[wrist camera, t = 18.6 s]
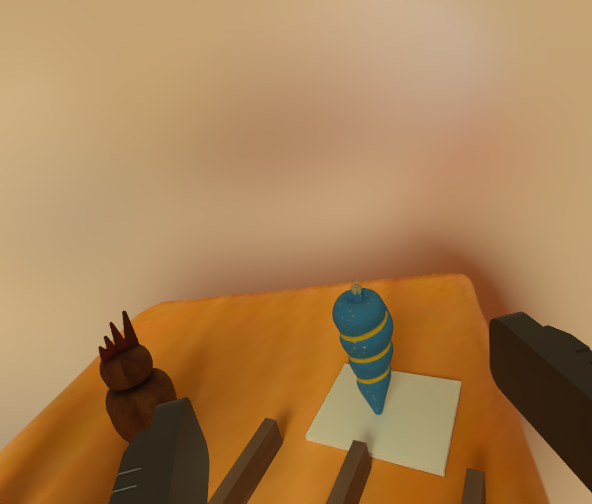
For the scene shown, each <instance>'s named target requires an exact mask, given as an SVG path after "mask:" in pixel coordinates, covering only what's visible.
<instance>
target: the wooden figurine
mask: <svg viewBox="0 0 592 504" xmlns="http://www.w3.org/2000/svg"><path fill="white" fill-rule="evenodd" d="M122 314H123V325H124V335H125V339H124V338H123V337H122V335H121V334H120V332H119V331H118V330H117V328H116V327H115V325H114V324H113V323H112V322H110V328H111V332H112V335H113V339H114V343H115V345H114V344H113V343H112V342H111V341H110V339H109V338H108V337H107V336H104V340H105V344H106V347H107V349H104V348H103V347H101V346H99V353H100V357H101V363H100V375H101V377H102V379H103V381H104V382H105V383H106V385H107V386H108V387H109V388H110V389H109V390H108V392H107V395H106V410H107V412H108V414H109V416H110V418H111V421H112V423H113V425H114V427H115V429H116V431H117V432H118V433H119V435H120V436H121V437H122V438H123V439H125V440H126V441H128V442H129V443H131V441H132V440H133V438H134V437H135V436H136V434H137V433H138V432H141V431H145V430H148V429H150V426H151V422H152V418H153V414H154V410H155V407H156V406H157V405H159V404H163V403H167V402H171V401H174V400H177V397H176V392H175V389H174V386H173V383H172V381H171V379H170V378H169V376H168V375H167V374H166V373H165V372H164V371H162V370H160V369H157V368H152V367H153V361H152V357H151V355H150V353H149V351H148V350H147V349H146V348H145V347H144V346H142V345H140V344H139V342H138V339H137V337H136V334H135V332H134V329H133V327H132V325H131V322H130V320H129V317H128V315H127V313H126V311H123V312H122Z"/></svg>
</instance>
